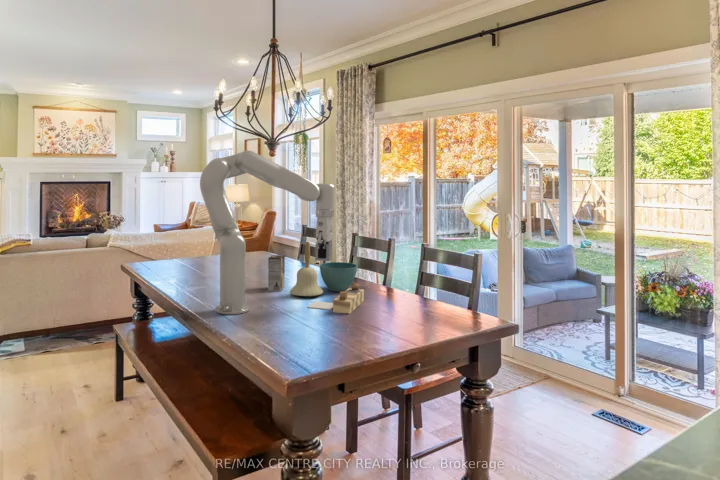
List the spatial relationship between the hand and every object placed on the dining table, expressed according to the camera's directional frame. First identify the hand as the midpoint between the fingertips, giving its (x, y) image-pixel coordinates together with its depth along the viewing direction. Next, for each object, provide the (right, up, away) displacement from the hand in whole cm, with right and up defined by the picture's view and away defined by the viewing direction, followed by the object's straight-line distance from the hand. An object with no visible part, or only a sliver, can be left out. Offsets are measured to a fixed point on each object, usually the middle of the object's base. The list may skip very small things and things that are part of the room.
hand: (323, 257), depth 203 cm
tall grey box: (0, -1, 0) cm, 1 cm away
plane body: (+11, -21, +4) cm, 24 cm away
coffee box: (-25, -17, +32) cm, 44 cm away
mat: (-1, -21, +2) cm, 21 cm away
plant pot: (+4, -18, +35) cm, 39 cm away
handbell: (-9, -19, +21) cm, 30 cm away
